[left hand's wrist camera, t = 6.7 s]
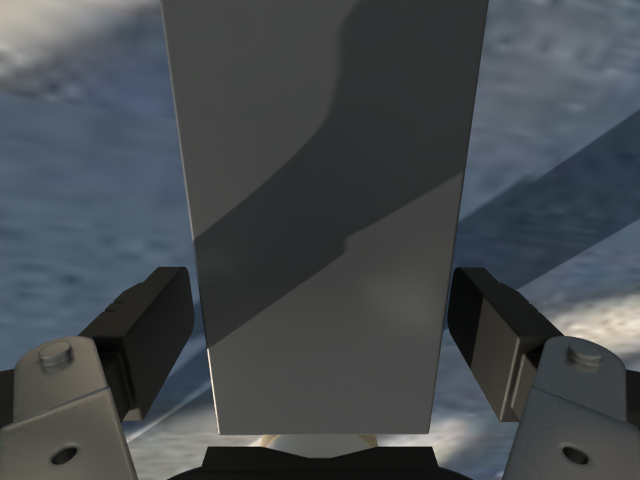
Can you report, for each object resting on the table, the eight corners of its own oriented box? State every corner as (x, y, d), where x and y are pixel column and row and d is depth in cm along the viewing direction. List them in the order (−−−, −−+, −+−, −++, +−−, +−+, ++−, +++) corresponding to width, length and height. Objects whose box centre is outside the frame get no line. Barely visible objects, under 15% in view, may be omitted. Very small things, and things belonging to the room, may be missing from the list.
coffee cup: (377, 395, 35) (417, 591, 21) (288, 417, 36) (269, 618, 22) (352, 318, 32) (378, 486, 18) (255, 344, 33) (209, 523, 19)
